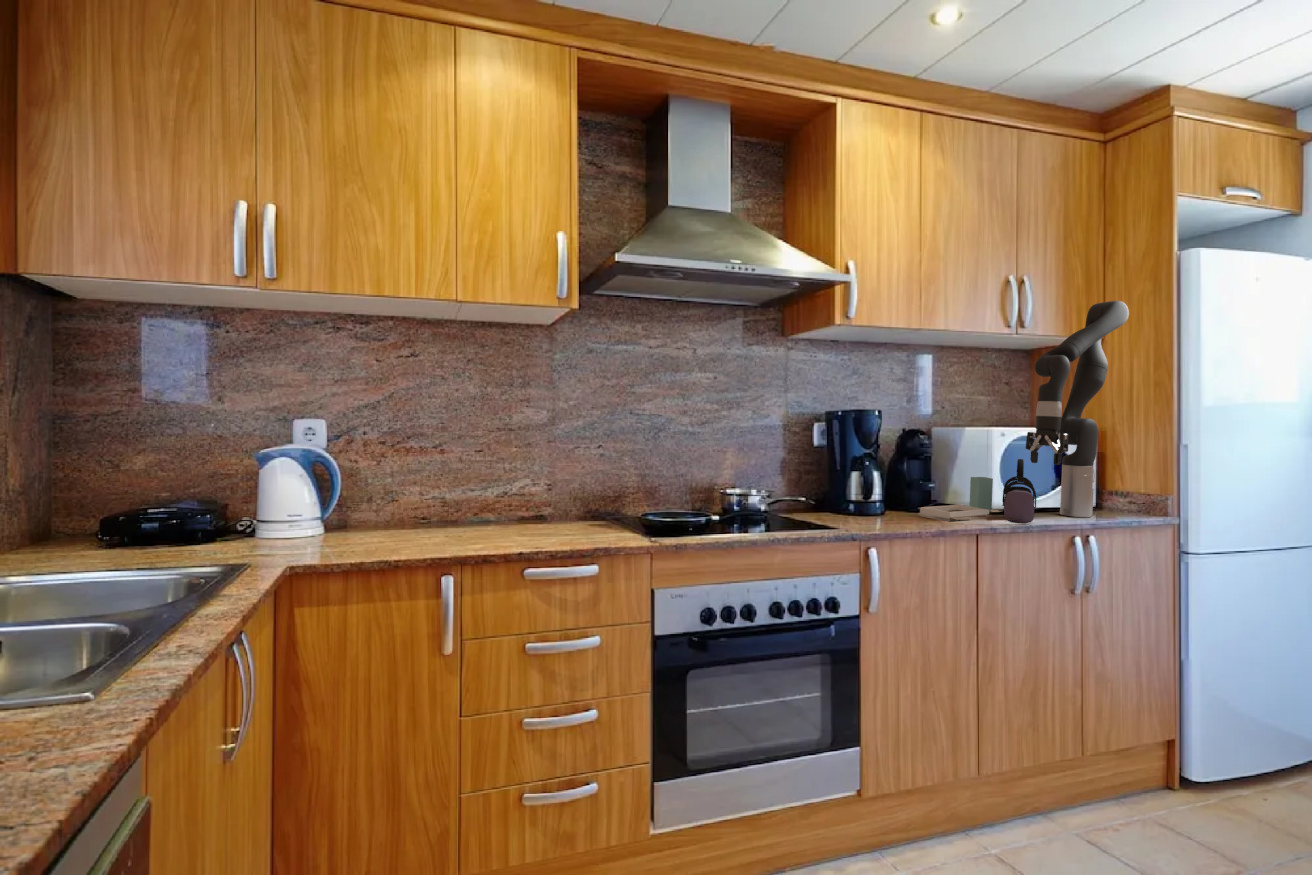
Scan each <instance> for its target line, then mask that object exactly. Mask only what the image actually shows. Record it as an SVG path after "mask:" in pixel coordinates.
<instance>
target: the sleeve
mask: <svg viewBox="0 0 1312 875" xmlns="http://www.w3.org/2000/svg"><path fill="white" fill-rule="evenodd" d="M993 482H994V478H992V477H988V476H987V477H986V476H970V483H969V507H975V508H981V509H988V510H989V511H992V510H993V507H992V506H993V485H994V483H993Z"/></svg>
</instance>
